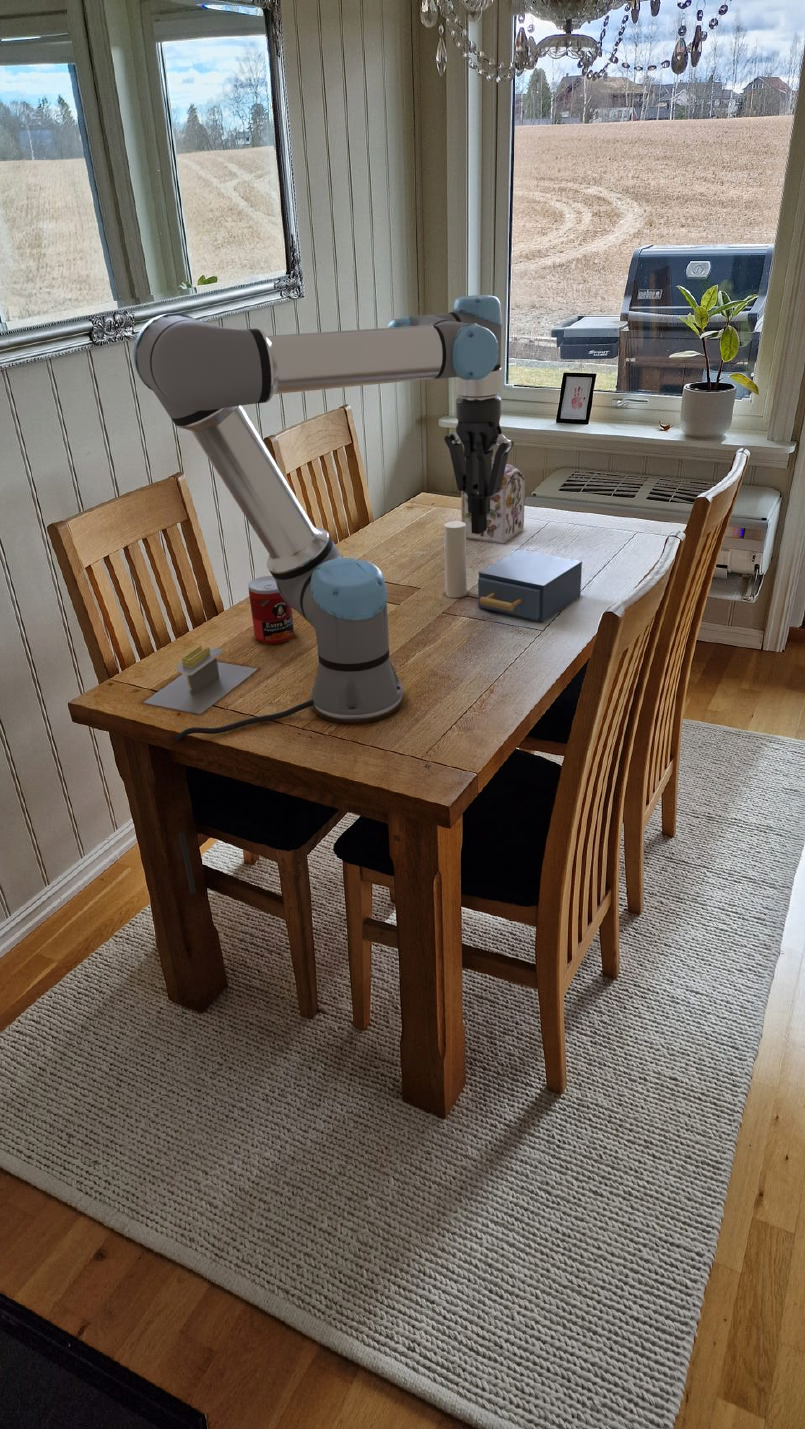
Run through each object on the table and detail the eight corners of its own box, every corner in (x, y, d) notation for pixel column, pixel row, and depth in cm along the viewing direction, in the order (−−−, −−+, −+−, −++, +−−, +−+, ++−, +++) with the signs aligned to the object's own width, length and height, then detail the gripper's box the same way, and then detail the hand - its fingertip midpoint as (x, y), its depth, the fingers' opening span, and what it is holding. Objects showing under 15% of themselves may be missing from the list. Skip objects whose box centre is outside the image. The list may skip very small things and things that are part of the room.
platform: (142, 702, 165) (135, 668, 162) (203, 659, 179) (198, 626, 176) (200, 714, 160) (194, 678, 157) (258, 668, 175) (253, 635, 171)
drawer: (524, 628, 183) (525, 599, 180) (465, 614, 190) (465, 586, 187) (572, 595, 196) (573, 568, 193) (515, 583, 203) (516, 557, 200)
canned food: (266, 648, 182) (259, 593, 177) (247, 634, 188) (240, 581, 183) (301, 637, 186) (296, 584, 180) (282, 625, 192) (276, 572, 186)
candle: (455, 599, 199) (454, 529, 192) (441, 594, 202) (439, 524, 195) (471, 593, 202) (470, 524, 195) (456, 588, 205) (455, 519, 198)
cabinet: (542, 622, 187) (543, 585, 183) (479, 607, 195) (478, 572, 191) (580, 596, 198) (582, 561, 194) (518, 583, 206) (519, 549, 202)
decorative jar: (460, 538, 233) (459, 463, 225) (481, 524, 242) (481, 452, 233) (505, 544, 228) (506, 468, 219) (525, 530, 236) (527, 456, 228)
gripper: (523, 394, 161) (521, 531, 173) (458, 389, 168) (460, 520, 180) (499, 403, 156) (499, 543, 167) (433, 396, 163) (437, 531, 174)
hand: (479, 531), depth 174 cm, fingers closed
